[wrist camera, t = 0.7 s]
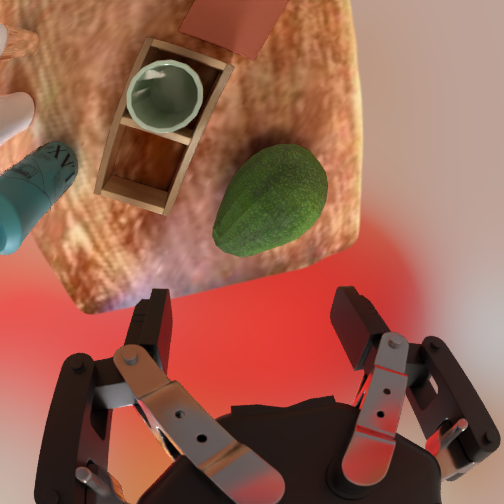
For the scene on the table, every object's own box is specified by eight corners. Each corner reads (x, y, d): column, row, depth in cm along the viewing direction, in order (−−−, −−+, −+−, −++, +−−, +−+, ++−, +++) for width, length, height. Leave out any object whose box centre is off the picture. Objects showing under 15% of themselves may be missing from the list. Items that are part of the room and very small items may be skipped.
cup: (140, 105, 27) (116, 120, 19) (160, 57, 24) (143, 51, 16) (189, 121, 30) (184, 142, 22) (211, 74, 27) (215, 74, 19)
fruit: (242, 246, 41) (255, 296, 33) (188, 204, 36) (186, 250, 28) (326, 174, 36) (362, 209, 28) (277, 118, 31) (306, 138, 23)
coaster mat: (177, 32, 23) (177, 31, 23) (215, -31, 19) (215, -32, 18) (253, 60, 26) (254, 60, 26) (289, 0, 22) (290, -1, 22)
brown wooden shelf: (104, 178, 31) (93, 193, 28) (153, 41, 23) (146, 36, 20) (172, 199, 35) (169, 216, 31) (230, 67, 27) (235, 66, 23)
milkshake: (40, 15, 17) (-6, 8, 9) (46, 50, 20) (-2, 51, 12) (12, 33, 16) (-36, 34, 8) (18, 67, 20) (-32, 76, 12)
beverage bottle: (87, 182, 31) (12, 294, 15) (44, 186, 30) (-39, 290, 14) (82, 132, 27) (-20, 214, 11) (37, 139, 26) (-68, 221, 10)
